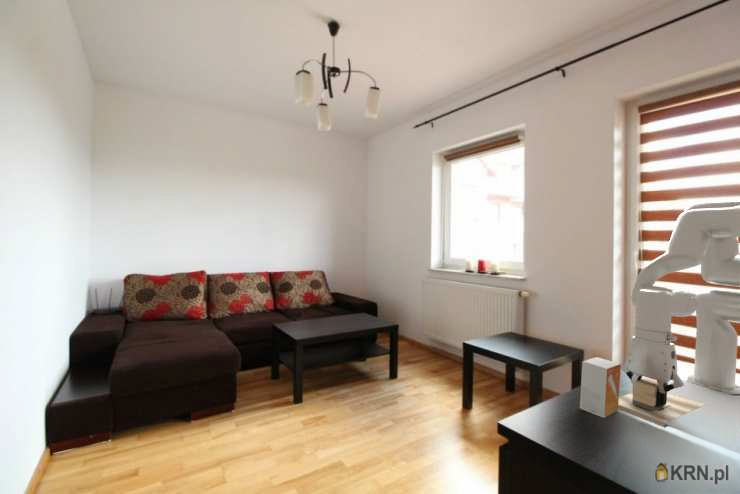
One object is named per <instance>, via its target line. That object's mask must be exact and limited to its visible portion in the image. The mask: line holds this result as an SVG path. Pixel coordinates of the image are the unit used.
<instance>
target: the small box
mask: <svg viewBox="0 0 740 494" xmlns="http://www.w3.org/2000/svg"><path fill="white" fill-rule="evenodd" d="M621 365H622V364H621V363H619V362H616V361H612V360H608V359H605V358H602V357H597V356H596V357H592V358H589V359H586V360H583V361H581V376H580V377H581V380H580V398H579V409H580V410H582V411H586V412H587V413H590V414H592V415H595V416H598V417H601V418H603V419H605V418H607V417H609V416H611V415H612V414H615V413H616V412H618V411H619V409H618V406H619V405H618V401H619V397H620V385H621V384H620V379H621V368H620V367H621Z"/></svg>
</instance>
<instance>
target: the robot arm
mask: <svg viewBox="0 0 740 494" xmlns="http://www.w3.org/2000/svg"><path fill="white" fill-rule="evenodd" d="M739 238H740V199H729V200H728V199H727V200H708V201H699V202H693V203H691V204H688V205H687V206H686V207H685V208H684V212H682V213H681V214H680V215H679V216H678V217H677V219H676V223H675V225H674V228H673V231H672V233H671V236H670V240H669V242H668V244H667V248H666V250H665V253H664V254H662V255H659V256H658V257H656V258H655V259H653V260H651V262H649V263H648V264H647V265H645V266H644V267H643V268H642V269H641V270H640V272H639V273H638V275H637V277H636V280H635V283H634V285H633V288H632V292H631V296H630V297H631V303H632V305H633V307H635V329H634V335H633V336H632V337H631V340H630V343H629V347H628V351H627V359H626V360H625V362H623V363H622V364H621V367H620V370H621V371H622V372H624V373H625V375H626V376H627V377H628V378H629V380H630V382H631V384H633V382H635V381H638V380H641V379H643V377H645V378H649V379H652V380H655V381H657V383H658V388H659V392H657V395H656V406H657V407H662V406H664V405H665V404H666V401H667V392H668V393H669V392H671V391H672V390H674V389H675V390H676V389H678V388H681V387H684V386H685V383H684V382H683V380H682V379H681V377H680V376H679V374H678V358H677V352H676V346H675V343H673V341H674V342H677V340H678V337H677V335H674V334H673V333H672V317H678V318H686V317H689V316H692V315H693V314H694V313H695V315H696V316H695V317H696V331H695V332H696V333H695V334H696V335H695V337H696V338H695V351H694V352H695V353H694V355H695V356H694V368H693V369H694V371H693V375H689V376H687V382H688V383H690V384H693V385H697V386H701V387H703V388H708V389H709V390H714V391H717V392H721V393H725V394H728V395H740V386H739V385H737V384H736V375H737V373H736V372H737V371H736V370H737V358H738V357H737V356H738V355H737V354H738V340H739V339H738V338H739V336H738V333H737V331H736V329H735V327H734V326H733V325H732V324H731V322H738V323H740V290H735V289H726V288H715V287H714V288H713V287H708V288H706V287H705V288H702V289H699V290H698V291H697V292H695V295H694V294H693V293H692V292H690V291H688V290H685V289H680V288H671V287H665V286H664V287H663V286H656V285H655V283H656V282H657V281H658V280H659V279H660V278H662V277H664V276H667V275H669V274H672V273H675V272H679V271H682V270H683V271H684V270H687V269H690V268H691V269H692V268H693V267H697V266H700V272H701V273H700V274H701V278H702V280H703V281H705V282H706V283H709V284H712V285H720V286H728V287H738V288H740V253H739V251H740V250H739V246H740V245H739V244H740V243H739V242H740V241H739ZM654 285H655V286H654ZM670 381H673V382H672V383H670V384H669V382H670Z"/></svg>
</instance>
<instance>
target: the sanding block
mask: <svg viewBox="0 0 740 494" xmlns="http://www.w3.org/2000/svg"><path fill="white" fill-rule="evenodd" d="M657 392H659V388H658V383H657V380H654V379H651V378H648V377H645V378H642V379H641V380H638V381H635V382H633V383H632V393H633V400H632V404H635V405H637V406H640V407H643V408H645V409H648V410H651V411H653V410H655V409H658V408H660V407H657V406H656V395H657ZM664 406H665V405H664ZM662 407H663V406H662Z"/></svg>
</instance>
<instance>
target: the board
mask: <svg viewBox="0 0 740 494" xmlns="http://www.w3.org/2000/svg"><path fill="white" fill-rule="evenodd" d="M632 400H633V392H631V393H628V394H625V395H621V396H619V401H618V411H619V410H620V411H622V412H624V413H627V414H630V415H631V416H634V417H637V418H639V419H642V420H644V421H647V422H649V423H652V424H655V425H657V426H660V427H662V428H667V427H669V425H668V424H666V423H668V422H671V421H672V420H675V419H677V418H679V417H681V416H683V415H685V414H688V413H690V412H692V411H694V410H696V409H698V408H701V407H703V406H705V403H701V402H698V401H695V400H692V399H689V398H687V397H683V396H680V395H676V394H673V393H672V392H669V391H668V392H667V401H666V404H665V406H663V407H660V408H658V409H655V410H653V411H651V410H648V409H645V408H643V407H640V406H637V405H635V404H632Z"/></svg>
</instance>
